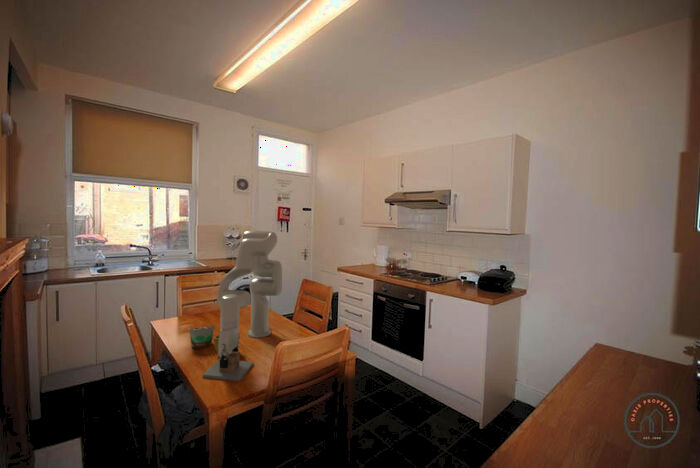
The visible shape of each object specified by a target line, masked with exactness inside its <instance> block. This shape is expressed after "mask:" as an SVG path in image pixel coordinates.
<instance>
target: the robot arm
mask: <svg viewBox="0 0 700 468" xmlns="http://www.w3.org/2000/svg"><path fill="white" fill-rule="evenodd" d="M277 241H278V236H277V234H276V232H274V231H268V230H266V231H264V230H247V231H244V232H243V234H242V240H241V241H240V243H239V248H238V250H237V251H238V252H237V255H236V259H235V263H234V267H233V268H232V269H231V270H230V271H229V272H227V273H226V274H225V276H224V277H223V278H222V279H221V281H220V283H219V286H218V291H217V297H216V303H217V304H218V305H219V307H220V314H219V315H220V327H219V328H220V330H219V334H218V335H219V343H218V352H217V356H218V360H219V359H220V368H226V369H227V368H228V359H227V356H228V353H230V352H231V351H233V352H239V347H240V346H239V343H240V337H241V336H240V334H239V333H240V330H239V327H240V310H241V309H243V308H244V309H245V308H246V307H248V305H249V304H250V329H249V330H248V331H247V335H248V337H251V338H257V339H258V338H265V337H268V336H270V335H271V334H272V330H271V329H270V328H269V325H270V321H269V316H270V315H269V313H270V311H269V309H270V308H269V307H270V305H269V304H270V303H269V302H270V301H269V300H268V298H267V297H278V296H280V295H281V294H282V290H283V267H282V266H283V265H282V263H281V261H279V260H277V259H269V255H270V254H271V252H272V251H273V250H274V249H275V247H276V246H277V243H278V242H277ZM251 273H252V275H254V276H255V277H256V278H254V279H252V280H251V281H250V283H249V291H246V290H239V289H238V290H236V289H229V287H230V285H231V284H232V283H233V282H234V281H235V280H238V279H240V278H241V277H244V276H247V275H249V274H251ZM224 350H226V351H227V352H226V351H224ZM223 353H226V355H225V356H224V355H223Z"/></svg>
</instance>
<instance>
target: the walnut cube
mask: <svg viewBox="0 0 700 468" xmlns="http://www.w3.org/2000/svg"><path fill="white" fill-rule="evenodd" d="M226 352H227V351H226ZM223 355H224V356H225V355H226V353H224V354H223ZM227 359H228V368H227V369H226V368H220V359H219V358H218V360H219V371H227V372H233V371H234V370H235V369H236V368H237V367H238V366H239V361H240V351H238V352H233V351H231V352H230V353H228V356H227Z"/></svg>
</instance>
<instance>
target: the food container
mask: <svg viewBox="0 0 700 468" xmlns="http://www.w3.org/2000/svg"><path fill="white" fill-rule="evenodd" d="M215 329H216V327H215V324H213V325H211V326H198V327H194V328H191V327H189V328H188V330H187V331H188V333H189V335H190V337H189V338H190V343H191V348H193V349H196V350H203V349H206V348H209V347H211V346H212V344H213V339H214V337H213V336H214V331H215Z"/></svg>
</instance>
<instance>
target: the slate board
mask: <svg viewBox="0 0 700 468" xmlns="http://www.w3.org/2000/svg"><path fill="white" fill-rule="evenodd" d="M254 364H255V363H254V361H246V360H239V366H238V367H237V368H236V369H235V370H234V371H233V372H227V371H219V359H218V360H217V361H216V362H214V364H213V365H211V366H210V367H209V368H208V369H207V370H205V372H204V373H203V374H202V378H205V379H206V378H207V379H214V380H215V379H216V380H224V381H232V382H233V381H235V382H240V381H242V379H243V378H244V377H245V376H246V374H247V373H248V372H249V371H250V369H251V368H252V367H253V366H254Z"/></svg>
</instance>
